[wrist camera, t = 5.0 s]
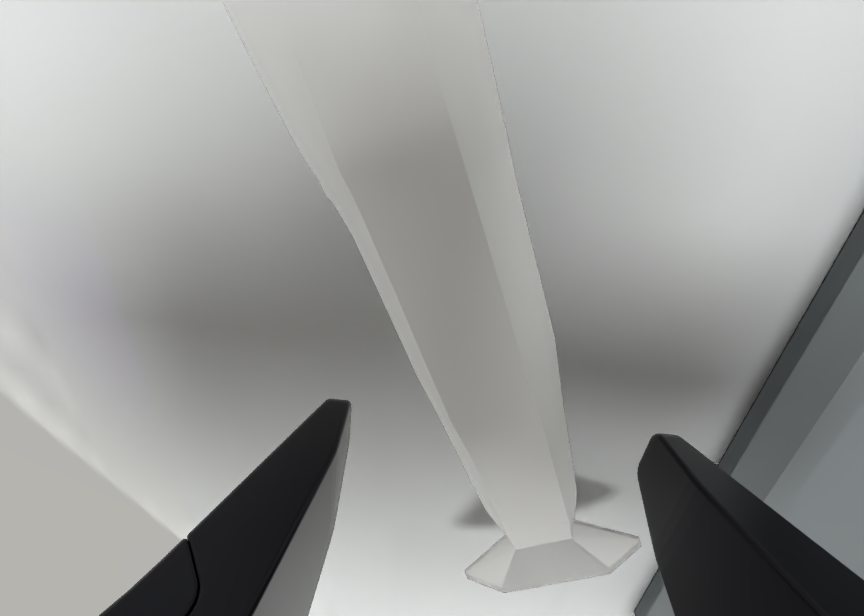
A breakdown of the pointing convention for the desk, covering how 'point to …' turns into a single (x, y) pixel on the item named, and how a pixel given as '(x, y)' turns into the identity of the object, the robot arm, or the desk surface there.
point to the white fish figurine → (441, 248)
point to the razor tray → (809, 425)
